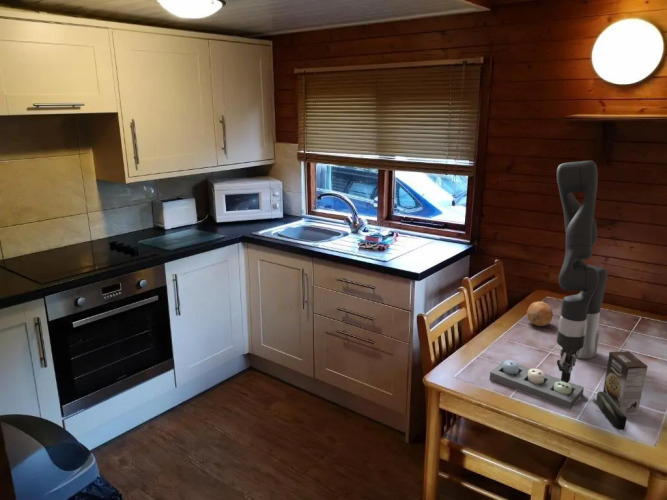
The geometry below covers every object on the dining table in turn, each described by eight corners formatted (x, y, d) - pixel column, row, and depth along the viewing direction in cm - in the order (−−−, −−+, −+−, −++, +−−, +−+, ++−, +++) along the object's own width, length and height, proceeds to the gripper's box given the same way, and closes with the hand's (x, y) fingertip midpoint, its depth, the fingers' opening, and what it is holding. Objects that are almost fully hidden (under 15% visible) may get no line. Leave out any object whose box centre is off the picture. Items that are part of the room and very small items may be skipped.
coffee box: (600, 398, 162) (608, 351, 157) (620, 396, 162) (628, 350, 157) (618, 415, 153) (627, 366, 148) (639, 414, 154) (648, 365, 149)
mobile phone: (629, 416, 145) (602, 386, 159) (618, 416, 145) (592, 386, 159) (626, 431, 146) (599, 400, 161) (615, 431, 146) (590, 400, 161)
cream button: (524, 381, 168) (525, 372, 167) (531, 375, 171) (532, 366, 170) (540, 386, 164) (541, 377, 163) (546, 380, 168) (547, 371, 167)
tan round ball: (553, 323, 214) (556, 300, 211) (548, 332, 206) (551, 308, 203) (529, 317, 219) (531, 295, 216) (523, 326, 211) (525, 303, 208)
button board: (489, 378, 173) (490, 372, 172) (504, 366, 181) (505, 359, 180) (570, 409, 156) (571, 402, 155) (582, 394, 164) (583, 387, 163)
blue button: (499, 372, 173) (500, 363, 172) (506, 366, 177) (507, 357, 176) (514, 377, 170) (515, 368, 169) (520, 371, 173) (521, 362, 173)
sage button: (550, 394, 163) (551, 385, 162) (556, 387, 166) (558, 379, 165) (567, 400, 159) (568, 391, 158) (573, 393, 163) (574, 384, 162)
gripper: (566, 319, 163) (560, 368, 168) (550, 334, 154) (544, 385, 159) (592, 326, 158) (585, 376, 163) (577, 342, 149) (570, 394, 154)
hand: (565, 381), depth 161 cm, fingers closed
